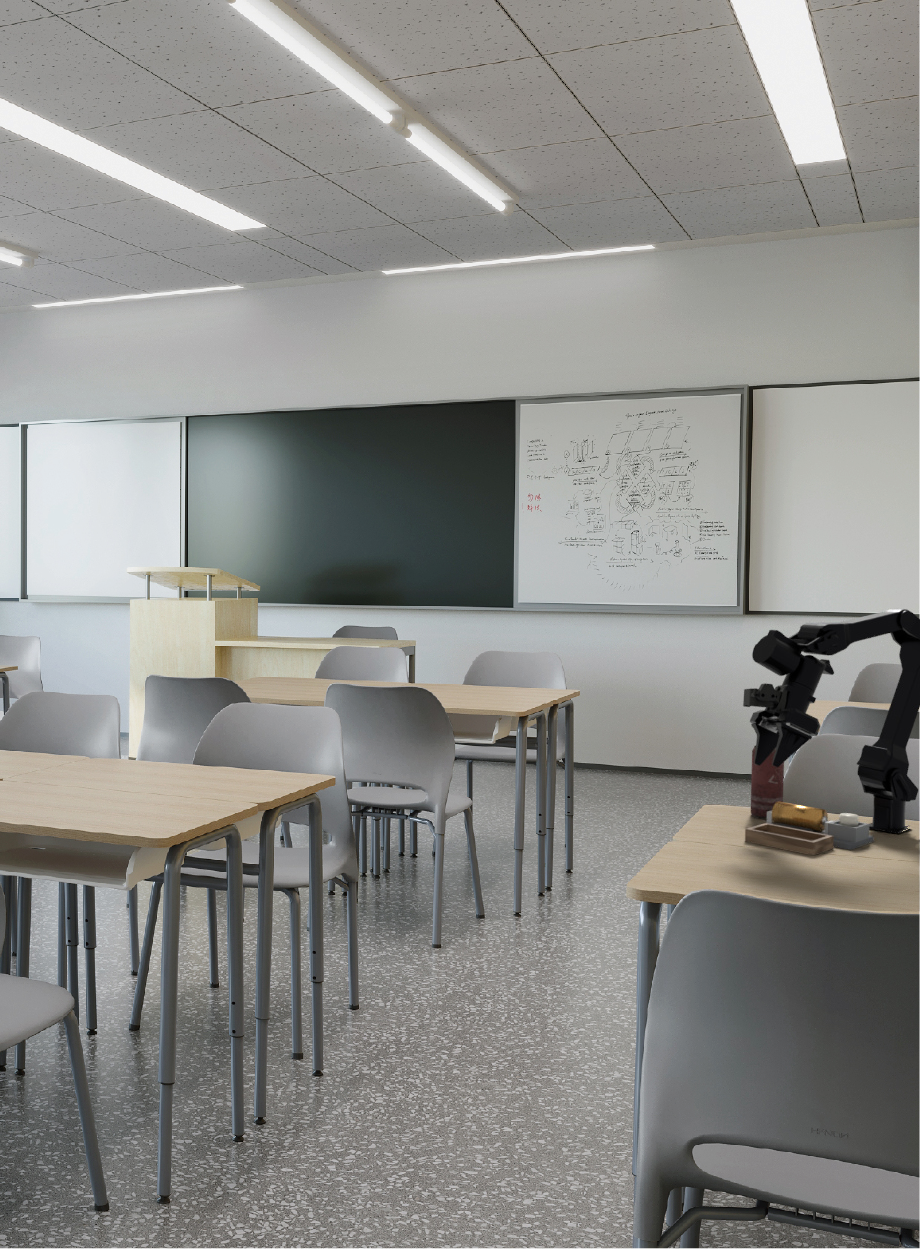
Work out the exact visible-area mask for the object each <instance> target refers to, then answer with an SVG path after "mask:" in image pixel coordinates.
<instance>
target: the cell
mask: <svg viewBox="0 0 920 1249" xmlns="http://www.w3.org/2000/svg"><path fill="white" fill-rule="evenodd" d="M772 818H773V821H774V822H775V823H784V824H790V825H795V826H800V827H805V828H811V829H814V830H816V831H824V830H825V822H827V821H829V816H828V812H827V810H826V809H824V808H819V807H818V808H817V807H813V806H806V805H801V804H795V803H790V802H784V801H783V802H776V803H775V804H774V806H773V810H772Z"/></svg>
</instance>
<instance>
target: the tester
mask: <svg viewBox="0 0 920 1249" xmlns="http://www.w3.org/2000/svg"><path fill="white" fill-rule="evenodd" d="M766 823H769V824H774V825H779V826H784V827H790V828H795V829H800V830H805V831H810V832H815V833H821V834H826V835H831V836H834V839H833V848H840V849H843V850H844V849H845V850H849V851H851V850H854V849H857V848H860V847H863V846H866V845H869V844H871V843H873V842H875V841H874V835H871V834H870V828H869V824H870V823H868V822H867V823H866V822H860V821H858V826H857V827H851V826H845V825H840V824H839V819H837V820H828V821H827V822H825V830H824V831H816V830H814V829H811V828H805V827H800V826H795V825H790V824H784V823H775V822H774V821H773V818H772V810H771V811H768V812H767V819H766Z"/></svg>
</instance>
